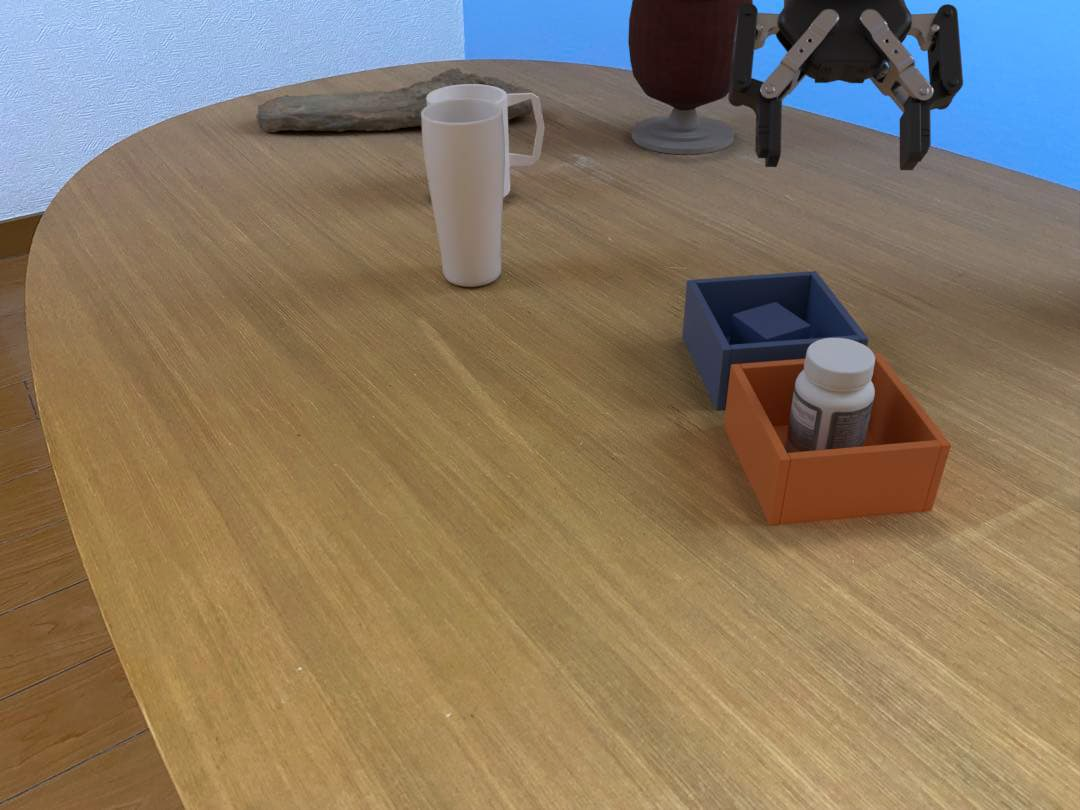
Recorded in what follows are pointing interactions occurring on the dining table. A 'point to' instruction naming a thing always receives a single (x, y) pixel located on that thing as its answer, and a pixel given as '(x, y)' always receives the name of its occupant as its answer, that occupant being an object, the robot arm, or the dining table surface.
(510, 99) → the cup
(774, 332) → the blue block
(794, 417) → the pill bottle
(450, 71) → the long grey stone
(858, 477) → the orange bin
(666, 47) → the mate gourd
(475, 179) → the drinking glass
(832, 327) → the blue bin
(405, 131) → the dining table surface
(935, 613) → the dining table surface
